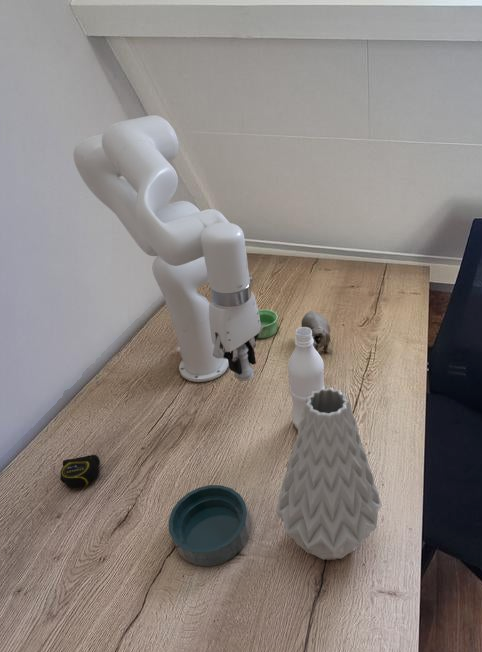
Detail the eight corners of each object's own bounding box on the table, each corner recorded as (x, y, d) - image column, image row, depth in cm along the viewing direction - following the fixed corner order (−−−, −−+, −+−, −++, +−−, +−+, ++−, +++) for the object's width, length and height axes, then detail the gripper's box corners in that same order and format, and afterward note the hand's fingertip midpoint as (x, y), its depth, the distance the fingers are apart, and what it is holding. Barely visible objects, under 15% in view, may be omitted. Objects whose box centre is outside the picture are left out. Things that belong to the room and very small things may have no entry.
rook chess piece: (246, 384, 98) (241, 355, 92) (230, 377, 100) (224, 348, 94) (258, 372, 101) (254, 344, 95) (242, 366, 102) (238, 337, 97)
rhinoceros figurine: (332, 320, 126) (327, 298, 111) (334, 368, 123) (329, 351, 108) (305, 322, 127) (296, 300, 112) (306, 369, 124) (297, 353, 110)
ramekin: (285, 327, 129) (283, 314, 126) (266, 343, 124) (265, 330, 121) (259, 319, 133) (258, 306, 130) (240, 334, 127) (238, 321, 124)
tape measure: (103, 462, 95) (96, 450, 92) (98, 488, 90) (91, 477, 87) (69, 468, 94) (62, 456, 92) (62, 494, 89) (54, 483, 87)
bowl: (160, 537, 81) (152, 522, 78) (215, 489, 89) (211, 473, 85) (209, 583, 75) (203, 568, 71) (265, 526, 82) (262, 510, 79)
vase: (263, 531, 81) (236, 395, 59) (333, 483, 88) (333, 346, 66) (321, 604, 71) (316, 475, 49) (396, 544, 78) (421, 406, 56)
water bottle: (322, 439, 97) (319, 344, 80) (289, 435, 98) (280, 341, 81) (327, 416, 102) (326, 322, 85) (296, 412, 103) (289, 319, 86)
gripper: (248, 269, 92) (257, 342, 105) (184, 304, 83) (202, 379, 96) (275, 280, 88) (281, 354, 101) (211, 318, 79) (227, 394, 92)
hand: (243, 366), depth 98 cm, fingers closed on rook chess piece, 3 cm apart
